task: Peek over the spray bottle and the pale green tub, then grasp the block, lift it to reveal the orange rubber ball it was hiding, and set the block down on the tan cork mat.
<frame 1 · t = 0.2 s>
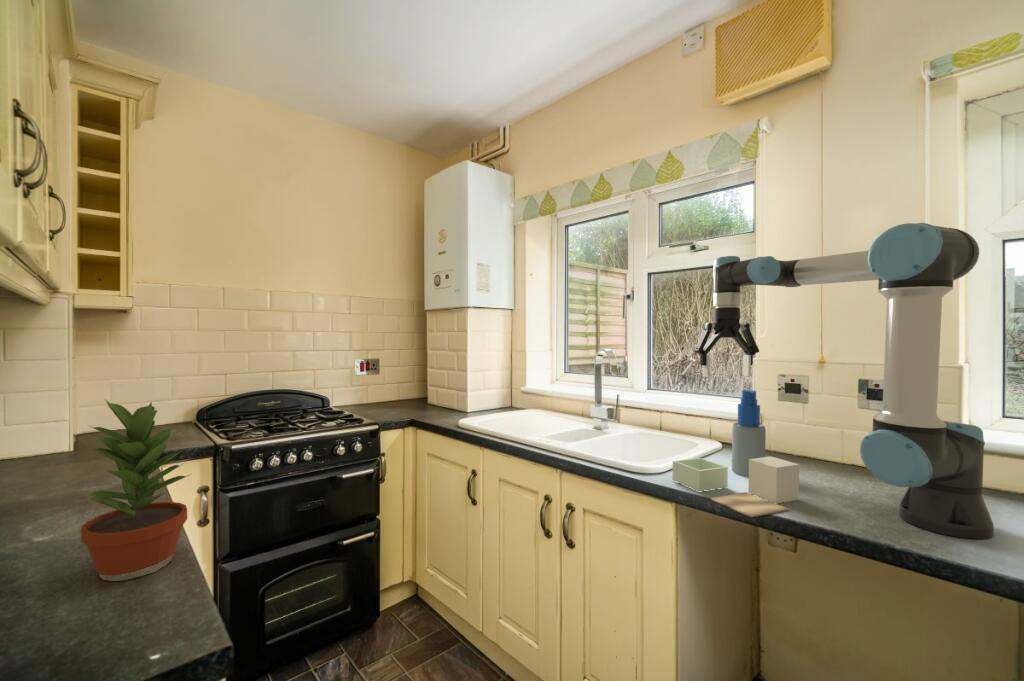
hand: (726, 376, 140), 29 cm above the worktop, fingers open, 13 cm apart
mat: (748, 504, 111), on the worktop
block: (773, 496, 117), on the worktop
spray bottle: (748, 473, 137), on the worktop
tub: (699, 485, 126), on the worktop
potted plant: (140, 566, 81), on the worktop
ball: (773, 489, 117), in the block
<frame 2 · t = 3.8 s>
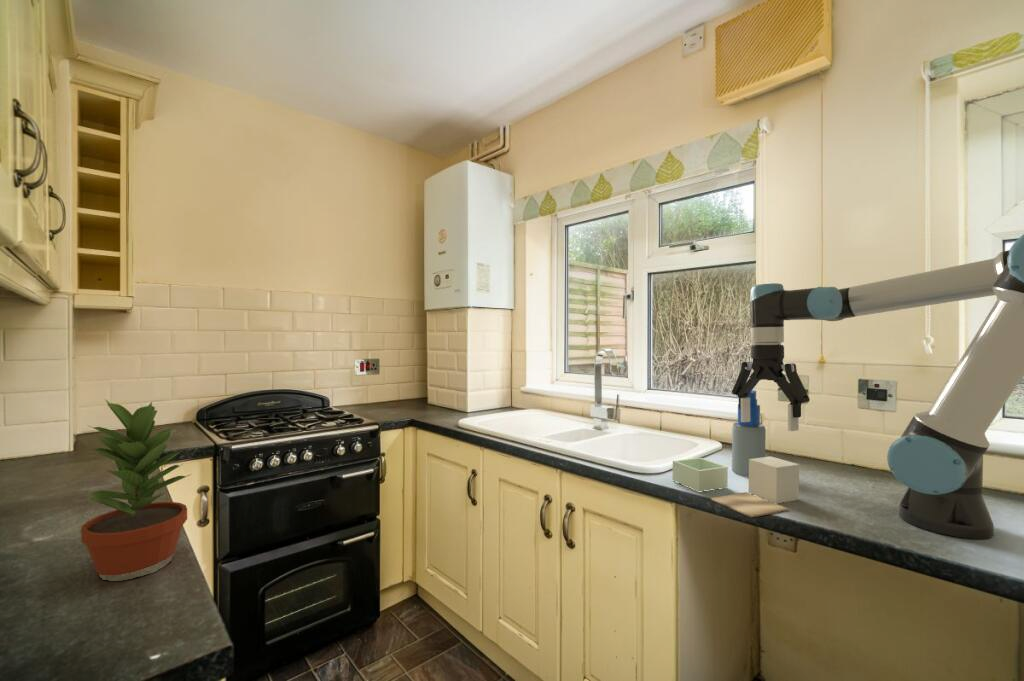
hand: (768, 426, 117), 18 cm above the worktop, fingers open, 13 cm apart
nothing on the worktop moved.
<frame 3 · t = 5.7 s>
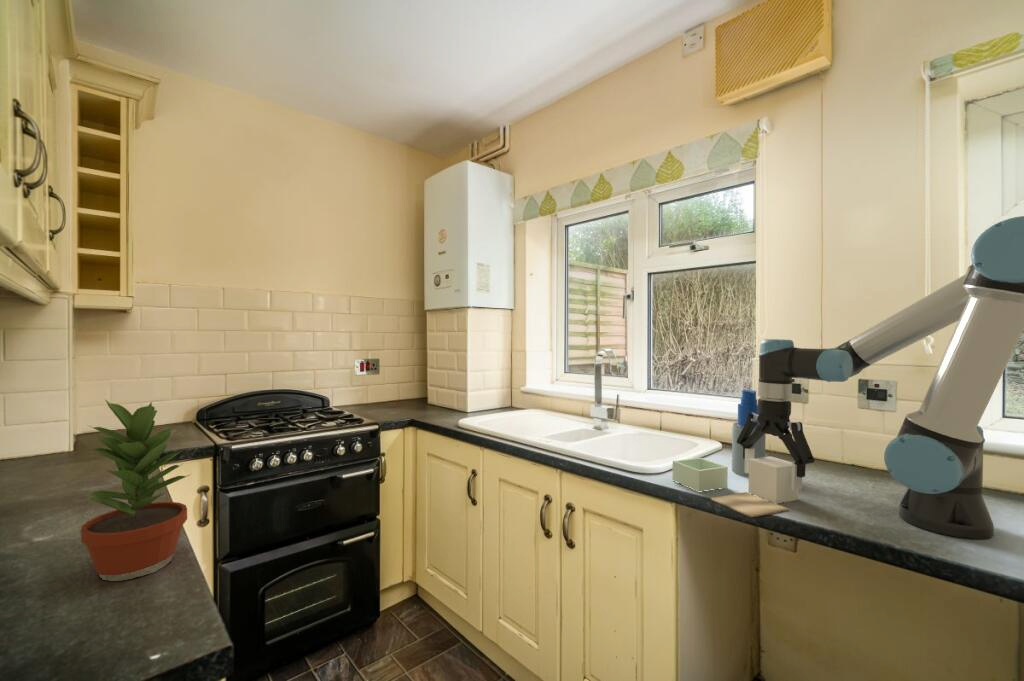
hand: (771, 480, 117), 4 cm above the worktop, fingers open, 13 cm apart
nothing on the worktop moved.
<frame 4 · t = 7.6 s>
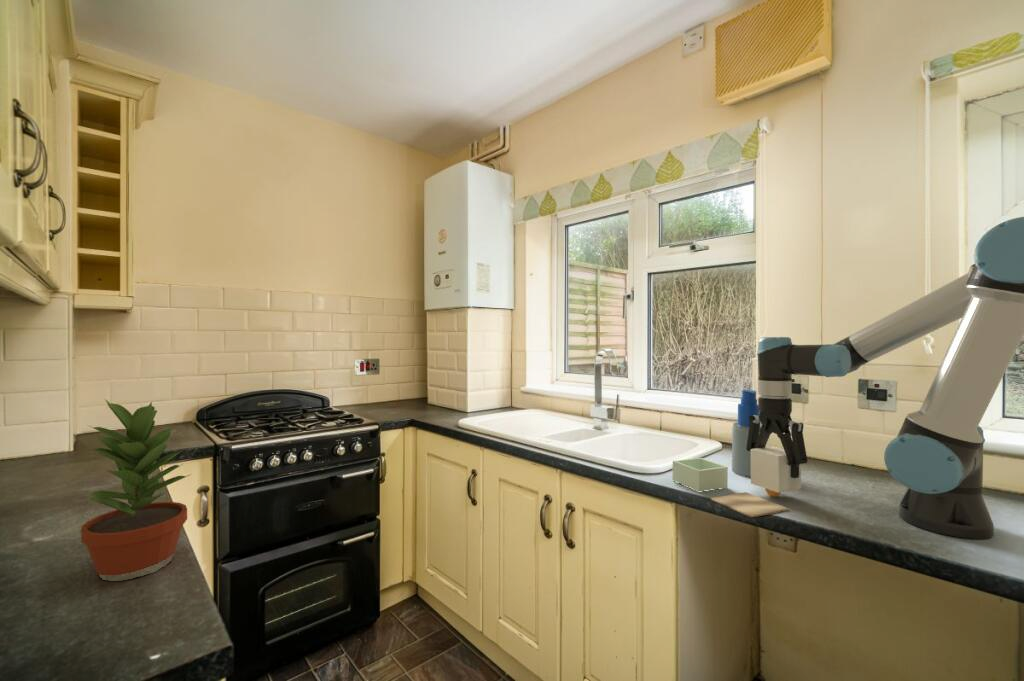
hand: (775, 484, 117), 3 cm above the worktop, fingers closed on block, 8 cm apart
block: (775, 485, 117), point 3 cm above the worktop, touching gripper
everything else where it was.
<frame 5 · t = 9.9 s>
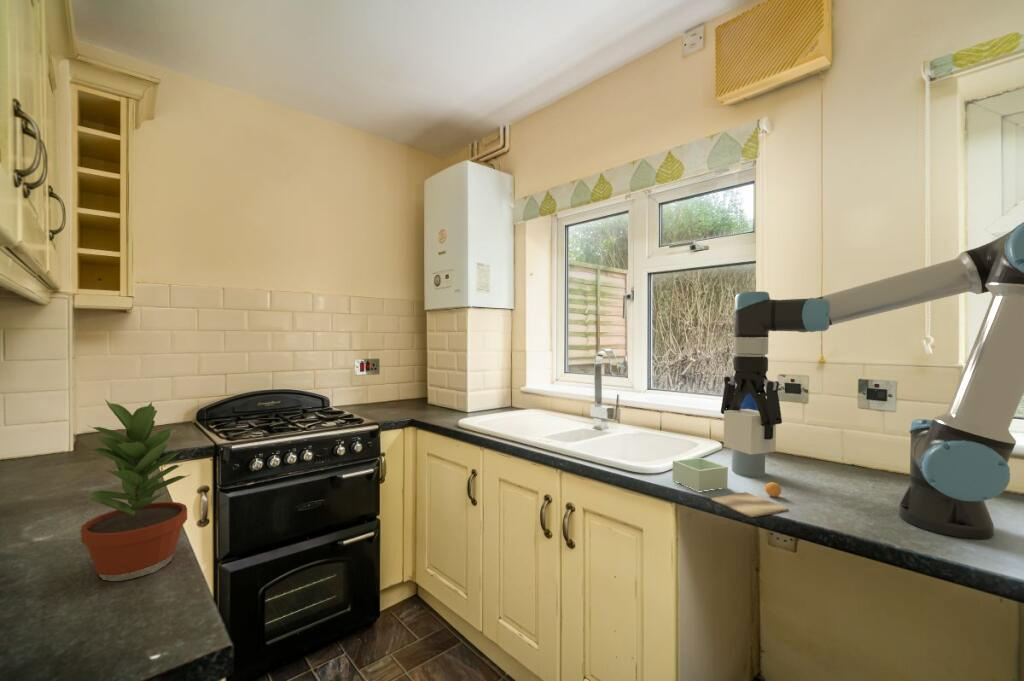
hand: (748, 447, 111), 14 cm above the worktop, fingers closed on block, 8 cm apart
block: (749, 448, 111), point 14 cm above the worktop, touching gripper
everything else where it was.
when the fingers open (1 cm above the worktop, at t = 12.5 s): block stays where it is, resting on mat.
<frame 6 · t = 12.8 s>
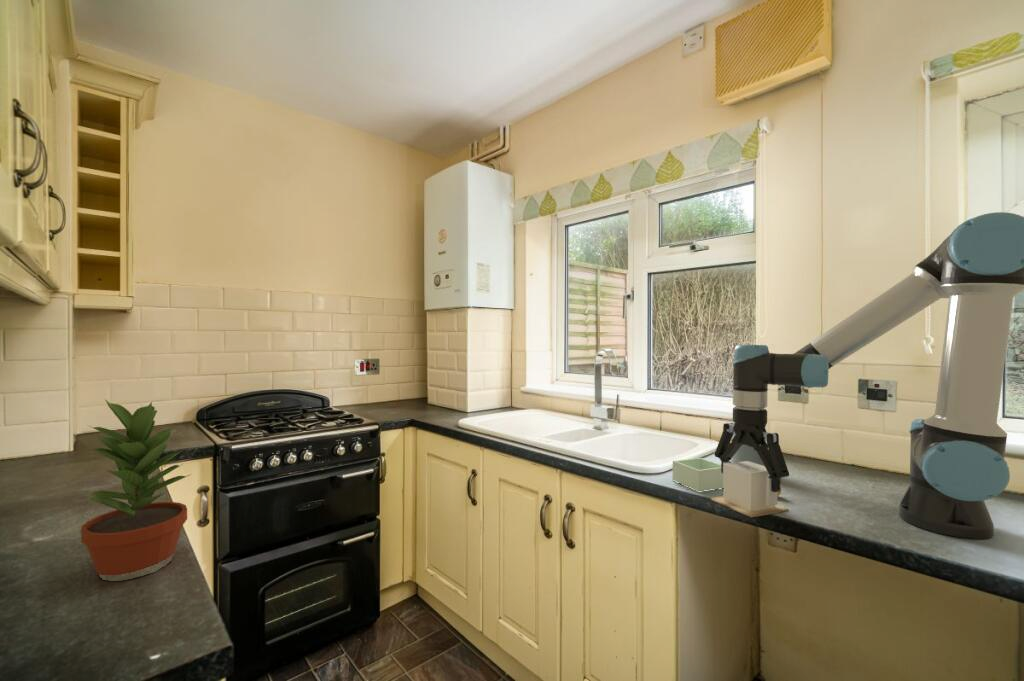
hand: (748, 495, 111), 2 cm above the worktop, fingers open, 12 cm apart
block: (748, 503, 111), resting on mat
everything else where it was.
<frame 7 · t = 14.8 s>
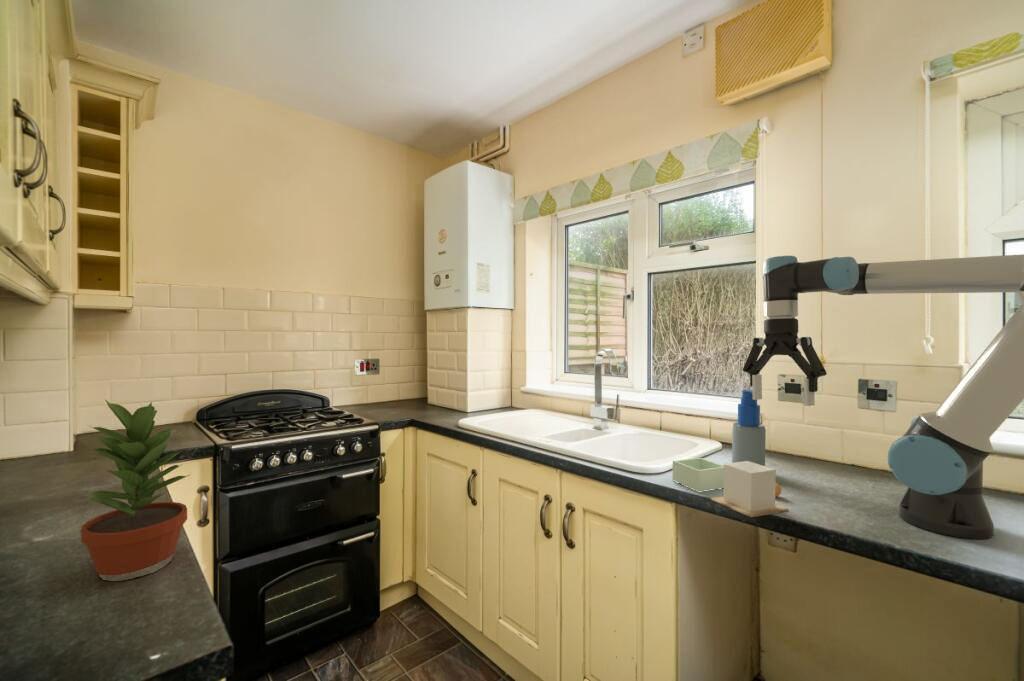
hand: (782, 402, 114), 25 cm above the worktop, fingers open, 13 cm apart
nothing on the worktop moved.
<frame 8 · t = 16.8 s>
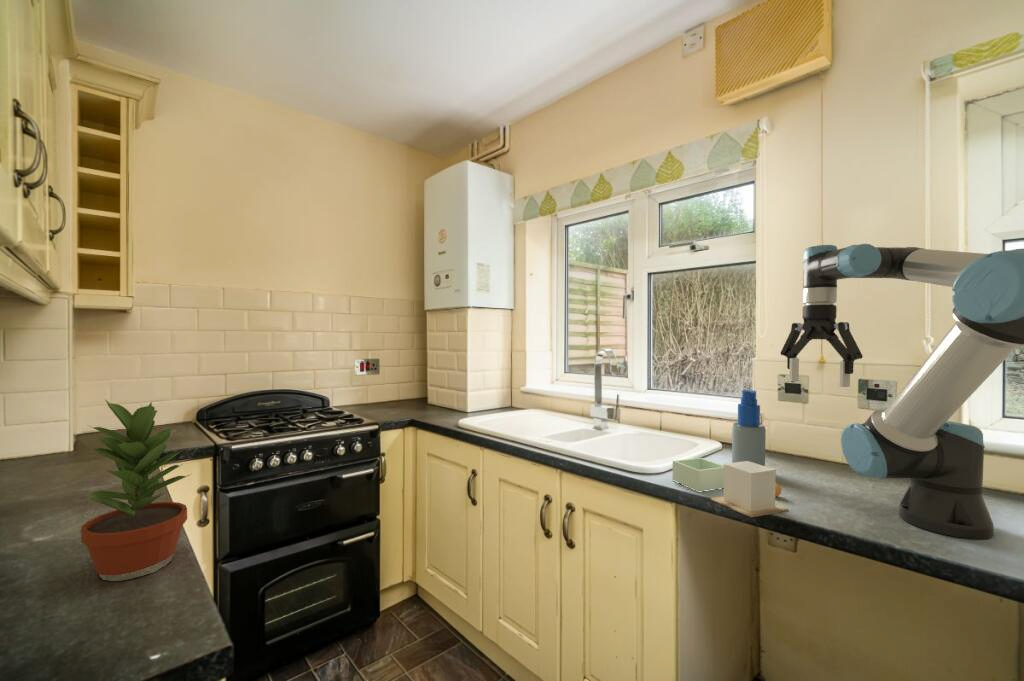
hand: (818, 384, 121), 29 cm above the worktop, fingers open, 13 cm apart
nothing on the worktop moved.
at the end: block inside the target area on the mat (0.0 cm from its centre), point 0.4 cm above the mat's base; block tilted 0°; block moved 11.1 cm from its start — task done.
